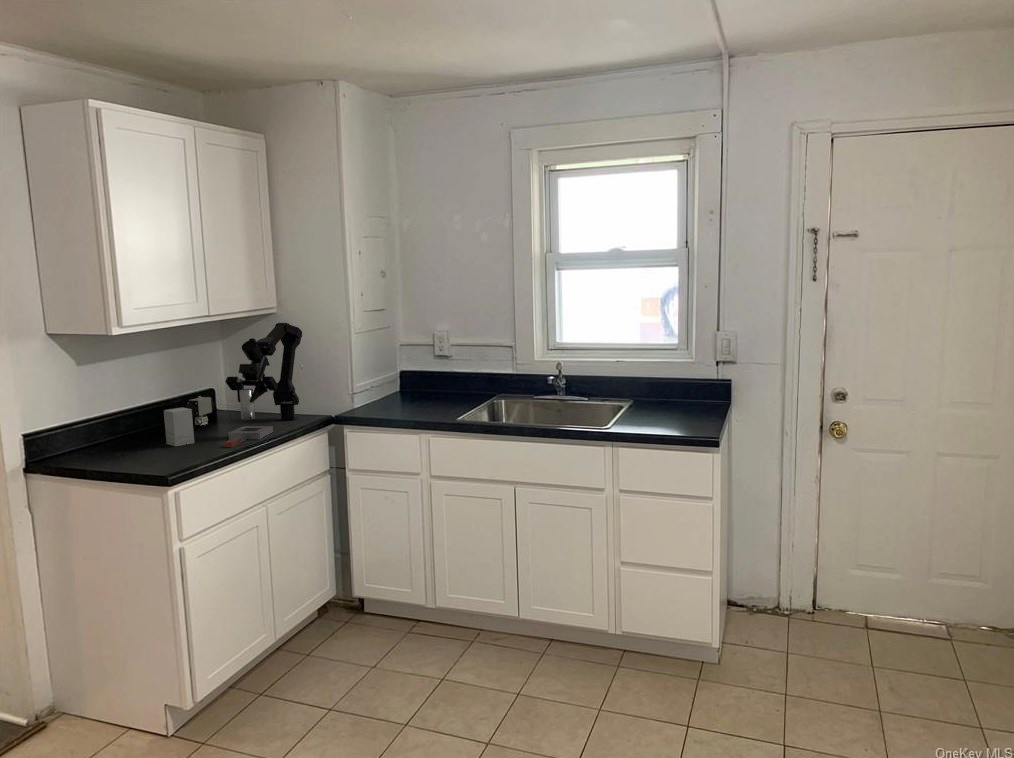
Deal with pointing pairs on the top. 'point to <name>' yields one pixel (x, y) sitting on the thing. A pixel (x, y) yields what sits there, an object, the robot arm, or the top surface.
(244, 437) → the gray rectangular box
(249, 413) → the shiny metal cylinder
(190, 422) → the supplement box
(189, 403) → the pneumatic valve
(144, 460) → the top surface
